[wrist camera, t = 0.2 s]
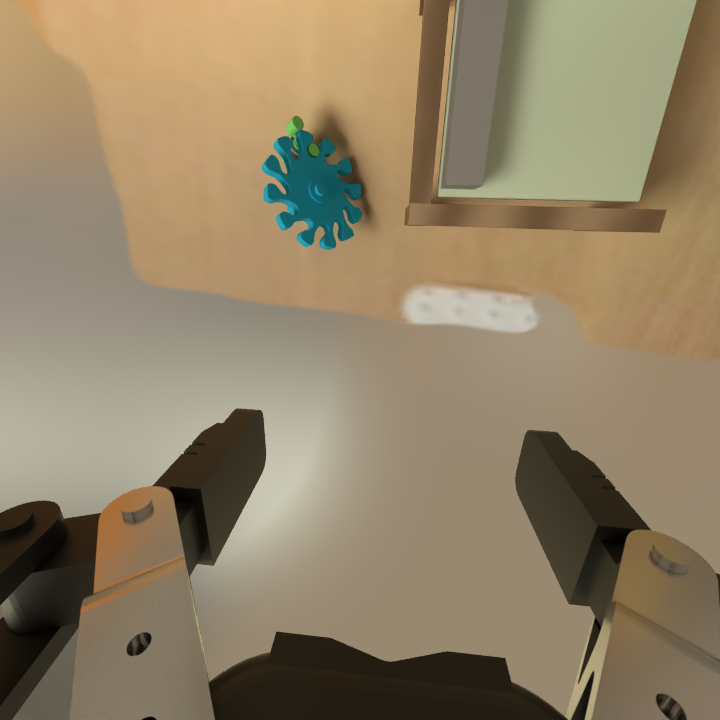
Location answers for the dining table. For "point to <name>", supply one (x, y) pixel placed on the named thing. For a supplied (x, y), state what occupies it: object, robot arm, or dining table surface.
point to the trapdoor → (558, 97)
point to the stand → (493, 216)
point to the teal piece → (311, 187)
